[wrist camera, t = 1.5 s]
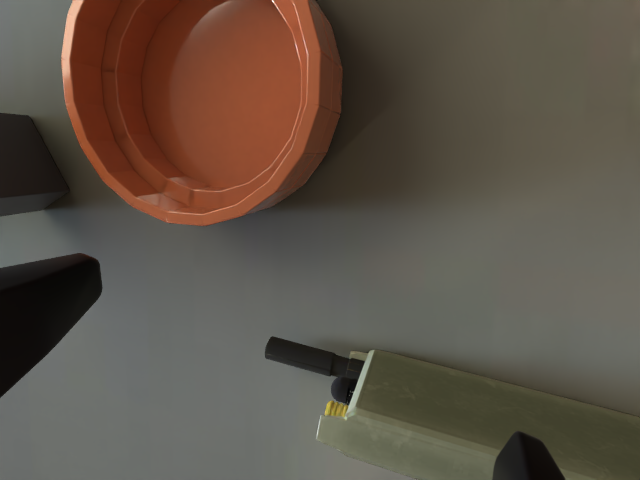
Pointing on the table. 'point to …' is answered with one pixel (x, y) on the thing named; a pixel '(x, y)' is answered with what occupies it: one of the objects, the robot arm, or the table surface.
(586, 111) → the table surface
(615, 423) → the handheld radio
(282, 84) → the bowl
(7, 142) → the remote
